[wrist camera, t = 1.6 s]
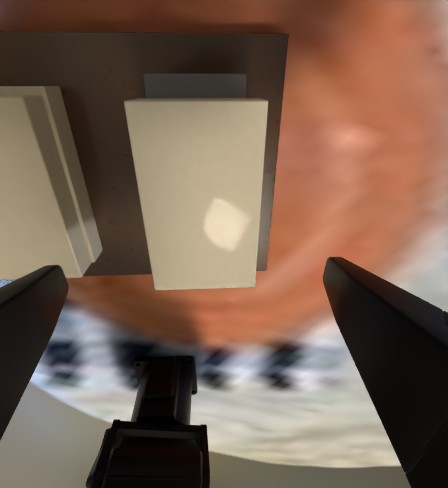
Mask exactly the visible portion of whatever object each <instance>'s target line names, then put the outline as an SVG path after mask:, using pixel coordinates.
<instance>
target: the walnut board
mask: <svg viewBox="0 0 448 488" xmlns="http://www.w3.org/2000/svg"><path fill="white" fill-rule="evenodd" d="M288 36H289V34H288V33H155V32H22V31H0V86H59V87H60V89H61V93H62V97H63V101H64V105H65V108H66V112H67V116H68V120H69V124H70V127H71V131H72V135H73V139H74V143H75V146H76V150H77V154H78V158H79V162H80V165H81V169H82V173H83V177H84V181H85V184H86V188H87V192H88V196H89V199H90V203H91V207H92V211H93V215H94V218H95V222H96V226H97V230H98V234H99V237H100V241H101V245H102V249H103V250H102V252H101V253H100V255H99V256H98V258H97V259H96V261H95V262H91V264H90V266H89V267H88V269H87V270H86V272H85V273H84V275H83V276H105V275H137V274H152V270H151V264H150V258H149V252H148V246H147V240H146V233H145V227H144V221H143V215H142V209H141V203H140V197H139V191H138V185H137V179H136V173H135V167H134V161H133V155H132V149H131V143H130V137H129V131H128V125H127V118H126V112H125V106H124V101H126V100H131V99H136V98H146V93H145V85H144V77H143V75H144V74H246V98H260V99H265V100H267V101H268V111H267V125H266V139H265V153H264V167H263V181H262V195H261V209H260V223H259V237H258V251H257V265H256V271H266V268H267V257H268V247H269V236H270V226H271V215H272V205H273V194H274V184H275V173H276V162H277V152H278V141H279V131H280V120H281V110H282V99H283V89H284V78H285V67H286V57H287V46H288Z"/></svg>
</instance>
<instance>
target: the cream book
mask: <svg viewBox="0 0 448 488" xmlns="http://www.w3.org/2000/svg"><path fill="white" fill-rule="evenodd" d="M124 106H125V112H126V118H127V125H128V131H129V137H130V143H131V149H132V155H133V161H134V167H135V173H136V179H137V185H138V191H139V197H140V203H141V209H142V215H143V221H144V227H145V233H146V240H147V246H148V252H149V258H150V264H151V270H152V276H153V282H154V288H155V290H182V289H211V288H241V287H255V279H256V265H257V251H258V237H259V223H260V209H261V195H262V181H263V167H264V153H265V139H266V125H267V111H268V101H267V100H265V99H260V98H136V99H131V100H126V101H124Z"/></svg>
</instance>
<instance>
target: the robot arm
mask: <svg viewBox="0 0 448 488" xmlns="http://www.w3.org/2000/svg"><path fill="white" fill-rule="evenodd" d="M323 283H324V286H325V289H326V293H327V296H328V299H329V302H330V305H331V308H332V311H333V314H334V317H335V320H336V323H337V325H338V327H339V329H340V332H341V334H342V336H343V338H344V340H345V343H346V345H347V347H348V349H349V351H350V354H351V356H352V358H353V360H354V362H355V365H356V367H357V369H358V371H359V373H360V376H361V378H362V380H363V382H364V384H365V386H366V389H367V391H368V393H369V395H370V397H371V400H372V402H373V404H374V406H375V408H376V411H377V413H378V415H379V417H380V419H381V422H382V424H383V426H384V428H385V430H386V433H387V435H388V437H389V439H390V441H391V444H392V446H393V448H394V450H395V452H396V455H397V457H398V459H399V461H400V463H401V466H402V468H403V470H404V472H405V473H406V477H407V479H408V481H409V484H410V486H411V488H448V312H446V311H442V309H440V308H438V307H436V306H434V305H432V304H430V303H428V302H426V301H424V300H422V299H421V298H419V297H417V296H415V295H413V294H411V293H409V292H407V291H405V290H403V289H401V288H399V287H397V286H396V285H394V284H392V283H390V282H388V281H386V280H384V279H382V278H380V277H378V276H376V275H374V274H373V273H371V272H369V271H367V270H365V269H363V268H361V267H359V266H357V265H355V264H353V263H351V262H349V261H348V260H346V259H344V258H342V257H329V258H328V259H327V262H326V266H325V270H324V275H323ZM67 293H68V283H67V280H66V277H65V275H64V272H63V269H62V267H61V266H59V265H46V266H43V267H41V268H39V269H37V270H35V271H33V272H31V273H29V274H27V275H25V276H23V277H21V278H19V279H17V280H15V281H13V282H11V283H9V284H7V285H5V286H3V287H1V288H0V440H1V438H2V436H3V434H4V432H5V430H6V428H7V426H8V424H9V421H10V420H11V417H12V415H13V414H14V411H15V409H16V407H17V405H18V403H19V401H20V399H21V397H22V395H23V393H24V390H25V389H26V387H27V385H28V383H29V381H30V379H31V377H32V375H33V373H34V371H35V369H36V367H37V364H38V362H39V360H40V358H41V356H42V354H43V352H44V350H45V348H46V346H47V344H48V342H49V340H50V338H51V336H52V334H53V331H54V329H55V326H56V324H57V321H58V318H59V315H60V313H61V310H62V307H63V304H64V301H65V299H66V296H67ZM134 368H135V372H136V376H137V380H138V383H139V388H138V392H137V397H136V401H135V405H134V410H133V414H132V418H131V422H130V421H120V420H115V419H114V421H113V424H112V427H111V428H109V429H107V430H106V432H105V435H104V439H103V442H102V445H101V448H100V451H99V453H98V456H97V458H96V460H95V463H94V465H93V467H92V469H91V472H90V474H89V476H88V479H87V482H86V488H209V484H210V469H209V453H208V438H207V425H201V426H199V425H190V413H191V395H194V394H196V393H197V380H196V368H195V358H194V357H193V356H175V357H153V358H137V359H135V360H134Z"/></svg>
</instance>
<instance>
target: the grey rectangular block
mask: <svg viewBox="0 0 448 488" xmlns="http://www.w3.org/2000/svg"><path fill="white" fill-rule="evenodd" d="M143 77H144V85H145V93H146V98H246V74H144V75H143Z"/></svg>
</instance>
